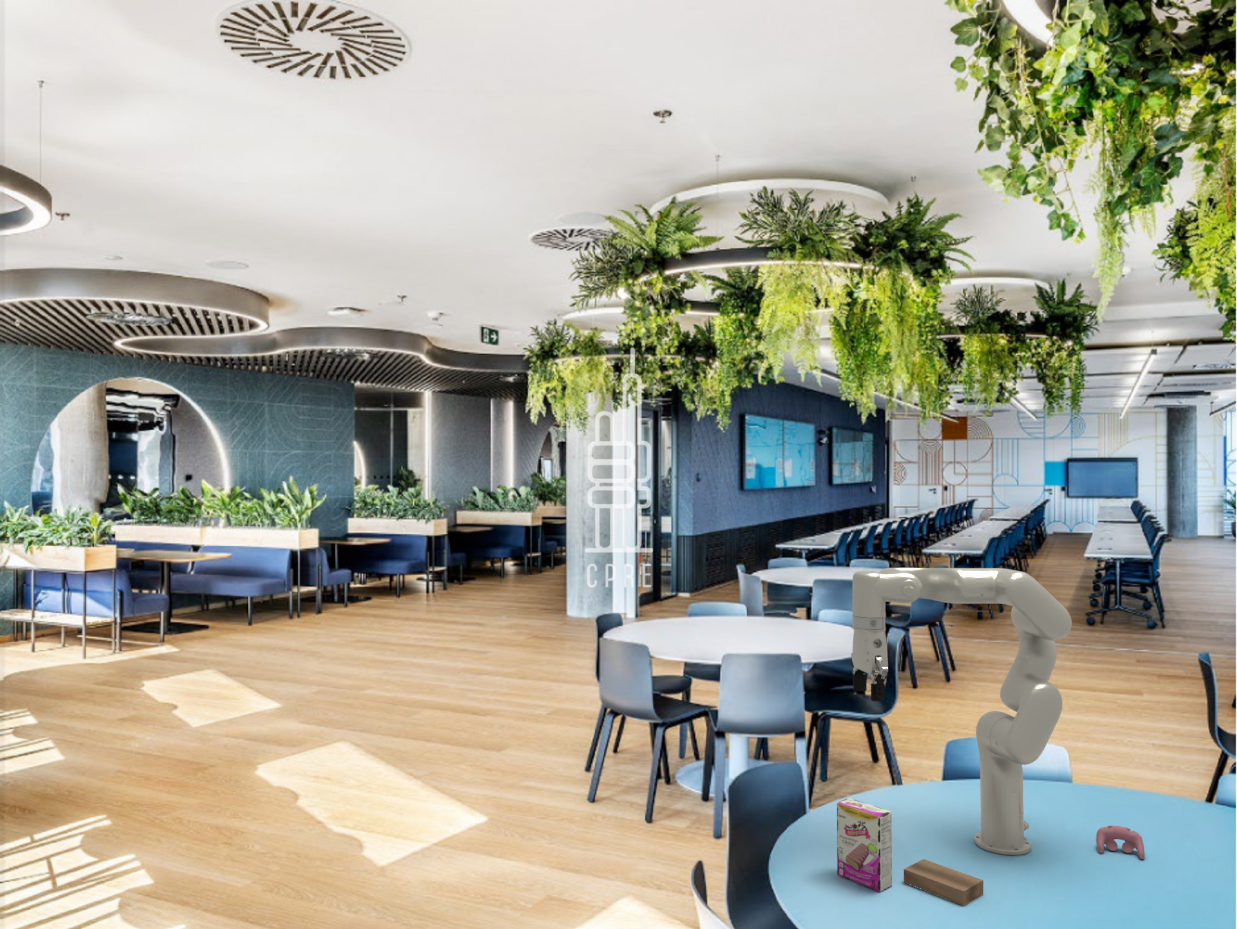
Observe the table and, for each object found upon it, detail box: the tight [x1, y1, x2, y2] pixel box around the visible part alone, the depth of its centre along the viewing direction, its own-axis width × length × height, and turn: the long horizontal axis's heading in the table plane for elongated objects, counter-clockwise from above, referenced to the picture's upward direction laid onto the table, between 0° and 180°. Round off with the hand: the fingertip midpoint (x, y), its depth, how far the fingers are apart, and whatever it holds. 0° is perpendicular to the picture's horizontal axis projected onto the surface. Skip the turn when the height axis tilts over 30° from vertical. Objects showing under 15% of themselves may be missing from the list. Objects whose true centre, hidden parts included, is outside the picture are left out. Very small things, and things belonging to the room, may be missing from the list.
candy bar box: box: [836, 797, 893, 893], centre depth 196 cm, size 11×5×16 cm, turn 42°
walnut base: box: [903, 858, 984, 907], centre depth 192 cm, size 8×14×3 cm, turn 40°
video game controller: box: [1095, 825, 1145, 860], centre depth 211 cm, size 10×5×7 cm, turn 65°
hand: (868, 695), depth 212 cm, fingers open, 9 cm apart
